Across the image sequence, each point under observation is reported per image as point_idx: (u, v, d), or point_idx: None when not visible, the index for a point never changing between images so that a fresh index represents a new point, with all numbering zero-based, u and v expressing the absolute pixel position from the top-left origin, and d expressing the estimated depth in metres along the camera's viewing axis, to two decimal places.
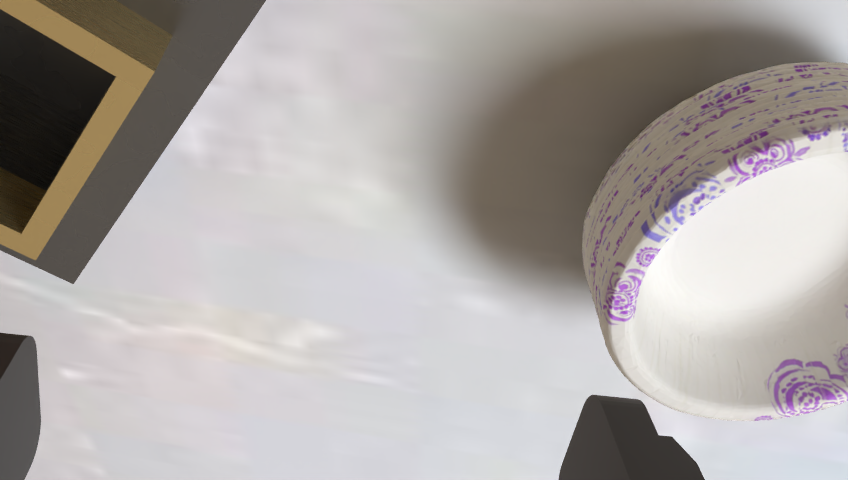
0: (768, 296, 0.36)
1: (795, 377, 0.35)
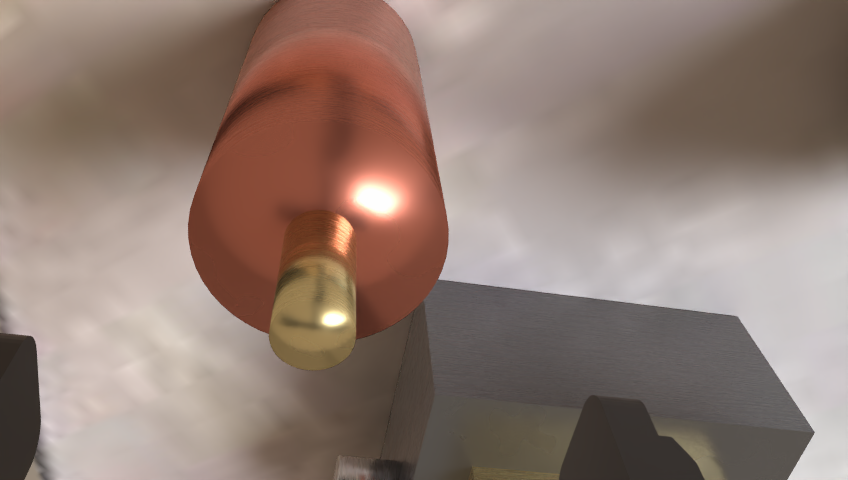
0: None
1: None
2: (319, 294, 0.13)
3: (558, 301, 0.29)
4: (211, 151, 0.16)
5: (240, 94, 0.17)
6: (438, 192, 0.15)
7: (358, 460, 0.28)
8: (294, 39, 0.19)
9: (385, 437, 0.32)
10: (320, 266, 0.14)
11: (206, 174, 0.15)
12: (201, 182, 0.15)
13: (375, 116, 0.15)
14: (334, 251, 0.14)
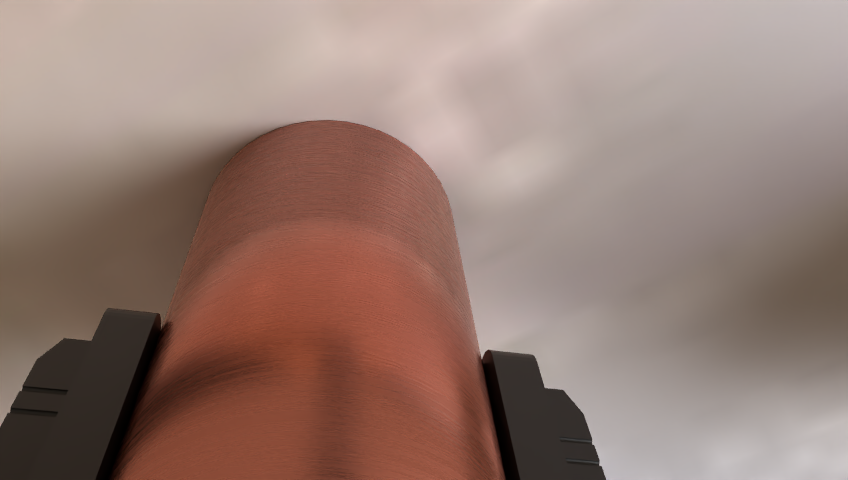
0: None
1: None
2: None
3: None
4: None
5: (154, 396, 0.10)
6: None
7: None
8: (258, 265, 0.11)
9: None
10: None
11: None
12: None
13: None
14: None
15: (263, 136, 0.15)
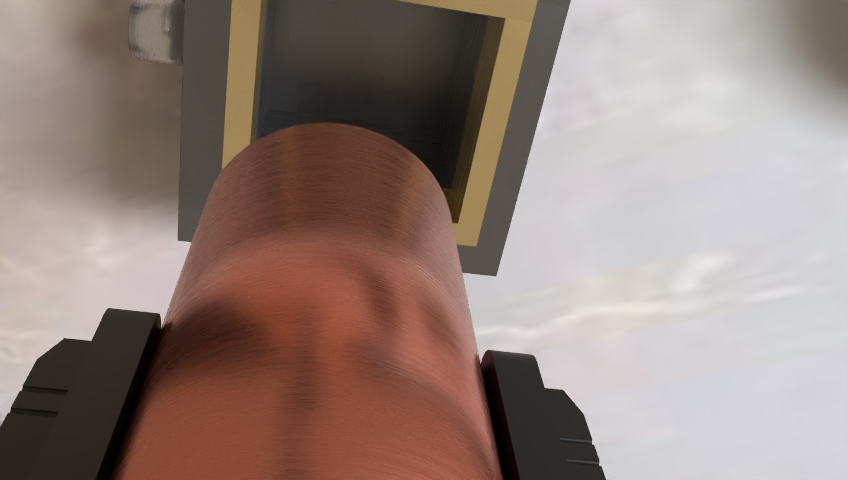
0: None
1: None
2: None
3: None
4: None
5: (153, 398, 0.10)
6: None
7: None
8: (257, 267, 0.11)
9: None
10: None
11: None
12: None
13: None
14: None
15: (261, 138, 0.15)
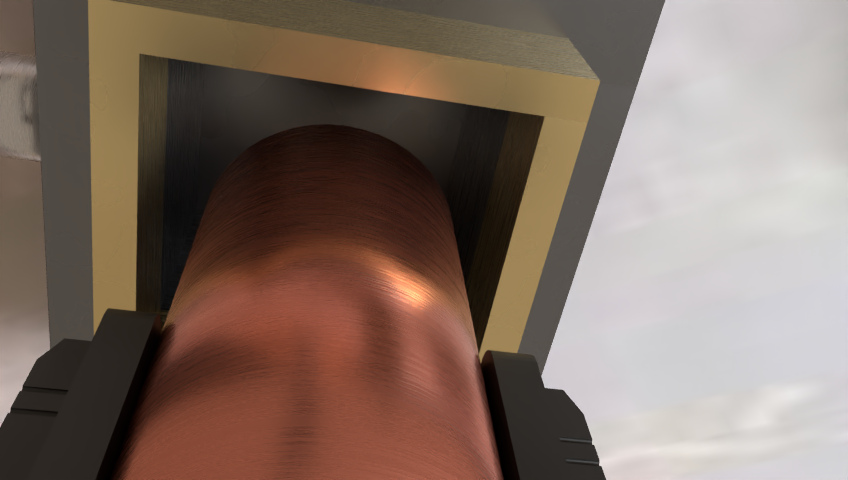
0: None
1: None
2: None
3: None
4: None
5: (154, 401, 0.10)
6: None
7: (20, 54, 0.19)
8: (258, 269, 0.11)
9: None
10: None
11: None
12: None
13: None
14: None
15: (262, 140, 0.15)
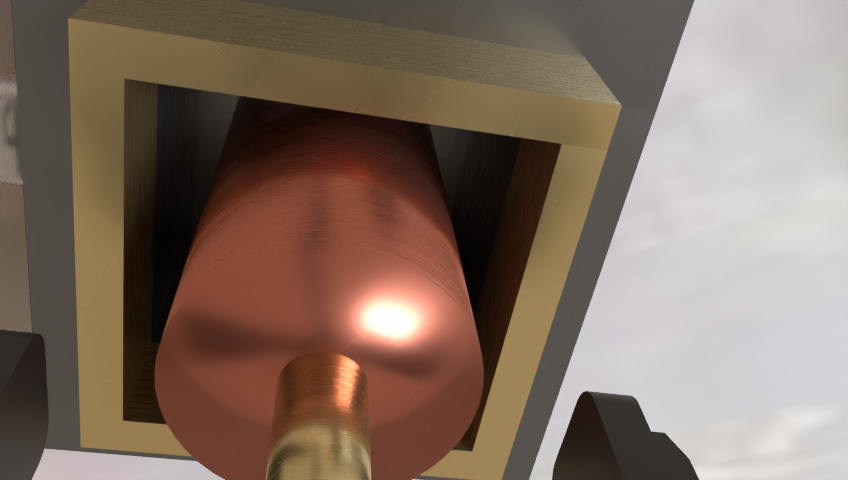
0: None
1: None
2: None
3: None
4: (184, 271, 0.13)
5: (221, 191, 0.14)
6: (471, 327, 0.12)
7: (3, 72, 0.18)
8: (287, 117, 0.16)
9: None
10: (325, 447, 0.10)
11: (176, 314, 0.12)
12: (170, 324, 0.12)
13: (390, 231, 0.12)
14: (342, 418, 0.11)
15: None
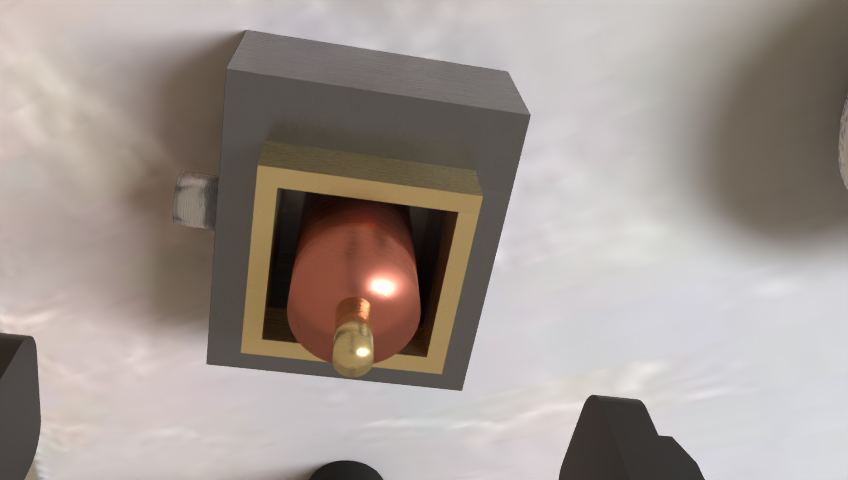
0: None
1: None
2: (356, 341, 0.28)
3: (356, 50, 0.36)
4: (296, 265, 0.31)
5: (309, 231, 0.32)
6: (414, 287, 0.30)
7: None
8: (337, 197, 0.34)
9: None
10: (356, 327, 0.28)
11: (297, 280, 0.30)
12: (295, 284, 0.30)
13: (382, 248, 0.30)
14: (362, 319, 0.29)
15: None
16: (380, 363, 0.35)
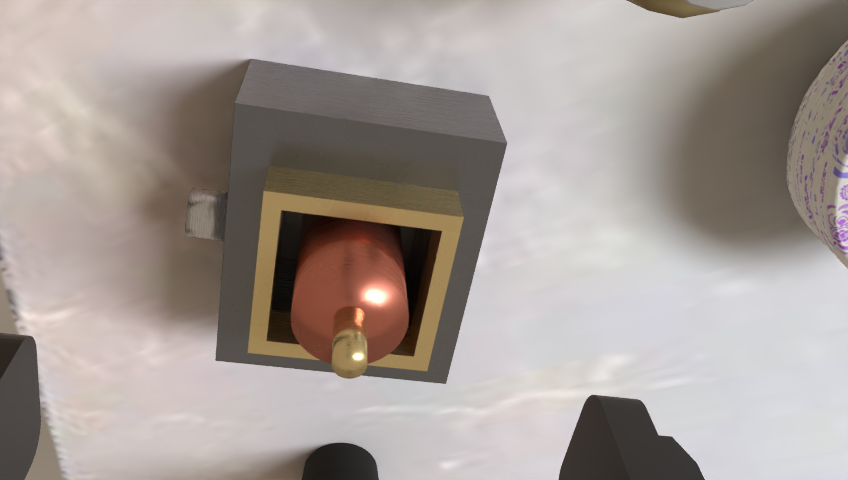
0: None
1: None
2: (352, 347, 0.32)
3: (351, 77, 0.40)
4: (298, 277, 0.35)
5: (309, 246, 0.36)
6: (403, 297, 0.34)
7: (206, 190, 0.40)
8: None
9: None
10: (352, 334, 0.32)
11: (300, 292, 0.34)
12: (298, 295, 0.34)
13: (374, 263, 0.34)
14: (357, 326, 0.33)
15: None
16: (372, 362, 0.39)
